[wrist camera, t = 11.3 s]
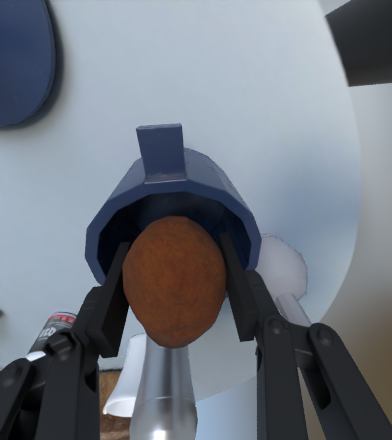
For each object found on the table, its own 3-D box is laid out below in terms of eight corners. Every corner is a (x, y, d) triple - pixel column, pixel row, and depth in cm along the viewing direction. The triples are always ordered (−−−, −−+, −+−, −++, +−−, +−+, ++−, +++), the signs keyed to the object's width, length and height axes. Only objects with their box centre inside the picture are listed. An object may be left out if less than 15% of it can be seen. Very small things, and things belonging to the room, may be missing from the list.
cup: (115, 331, 35) (95, 404, 26) (166, 328, 36) (162, 398, 27) (122, 353, 39) (107, 422, 31) (167, 350, 40) (164, 416, 32)
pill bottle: (79, 312, 31) (50, 374, 24) (82, 328, 33) (56, 388, 26) (47, 310, 30) (7, 374, 23) (52, 327, 32) (17, 389, 25)
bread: (45, 370, 40) (11, 439, 32) (170, 363, 44) (169, 425, 35) (74, 409, 54) (55, 465, 46) (168, 402, 57) (167, 453, 49)
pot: (234, 111, 17) (283, 119, 9) (227, 255, 27) (248, 320, 19) (96, 120, 17) (23, 137, 9) (139, 264, 26) (122, 334, 18)
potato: (129, 284, 17) (106, 370, 11) (135, 189, 12) (101, 258, 7) (204, 289, 18) (215, 370, 13) (235, 205, 14) (275, 275, 8)
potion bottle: (245, 281, 30) (314, 460, 15) (218, 248, 26) (276, 450, 11) (297, 256, 28) (436, 434, 13) (276, 215, 24) (447, 409, 9)
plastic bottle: (140, 297, 30) (94, 543, 13) (164, 273, 28) (146, 535, 11) (172, 310, 33) (168, 530, 16) (197, 289, 30) (223, 522, 14)
